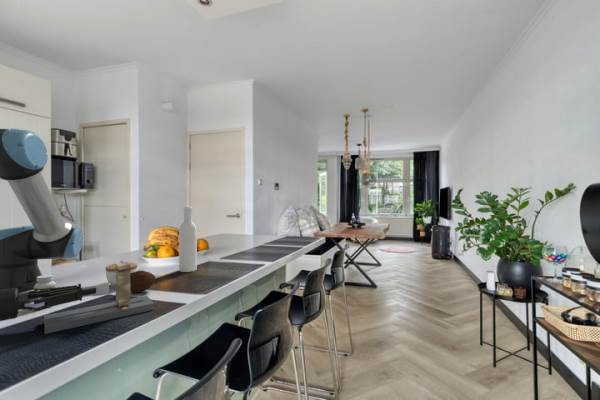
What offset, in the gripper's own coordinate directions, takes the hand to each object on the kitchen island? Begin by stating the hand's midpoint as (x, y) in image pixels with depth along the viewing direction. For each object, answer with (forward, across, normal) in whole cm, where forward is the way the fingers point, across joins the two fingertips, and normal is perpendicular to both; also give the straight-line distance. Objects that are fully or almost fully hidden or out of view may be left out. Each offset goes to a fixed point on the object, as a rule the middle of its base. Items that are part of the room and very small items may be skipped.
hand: (108, 287), depth 90 cm
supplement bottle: (-14, -21, -8) cm, 26 cm away
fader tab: (+4, 0, -6) cm, 7 cm away
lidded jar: (+9, -30, -8) cm, 33 cm away
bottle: (+38, -37, -8) cm, 54 cm away
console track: (-2, 0, -8) cm, 8 cm away
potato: (+13, -17, -8) cm, 22 cm away
